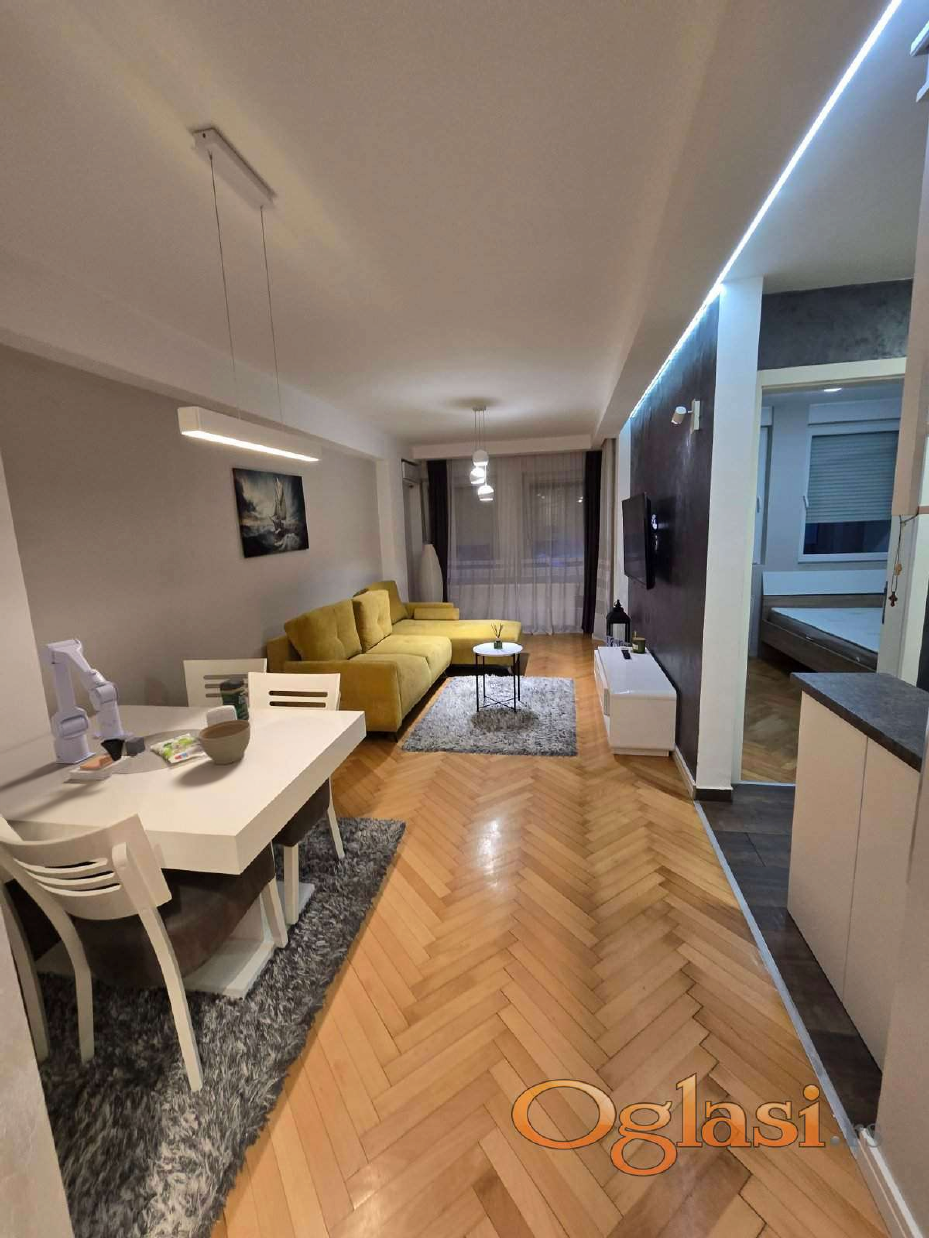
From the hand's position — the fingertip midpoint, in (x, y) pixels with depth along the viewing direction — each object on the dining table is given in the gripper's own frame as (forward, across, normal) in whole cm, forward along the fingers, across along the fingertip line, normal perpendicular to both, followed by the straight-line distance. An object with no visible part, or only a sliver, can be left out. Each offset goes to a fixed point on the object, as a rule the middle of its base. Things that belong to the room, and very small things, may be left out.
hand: (117, 759), depth 166 cm
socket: (+4, -7, 0) cm, 8 cm away
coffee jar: (+4, +14, +43) cm, 46 cm away
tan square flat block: (+1, -7, 0) cm, 7 cm away
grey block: (+4, -7, +14) cm, 16 cm away
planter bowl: (+4, +33, +11) cm, 35 cm away
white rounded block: (+4, +19, +28) cm, 34 cm away
